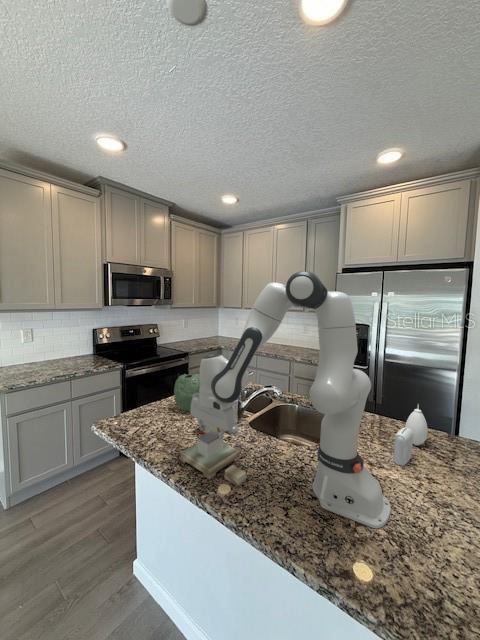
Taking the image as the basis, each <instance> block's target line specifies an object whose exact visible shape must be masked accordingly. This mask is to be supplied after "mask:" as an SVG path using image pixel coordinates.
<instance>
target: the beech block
mask: <svg viewBox="0 0 480 640" xmlns="http://www.w3.org/2000/svg"><path fill="white" fill-rule="evenodd" d="M224 479H225V480H226V481H228V482H230V483H231V484H234V485H235V486H237V487H240V486H241V485H242V484H244V483H245V482H246V481H247V472H246V471H245V470H242V469H240V468H239V467H237V466H236V465H233V464H232V465H231V466H229V467H228V468H226V469H225V470H224Z"/></svg>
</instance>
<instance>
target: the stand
mask: <svg viewBox="0 0 480 640" xmlns="http://www.w3.org/2000/svg"><path fill="white" fill-rule="evenodd" d="M240 459H241V450H239V449H237V448H235V447H233V446H232V445H229V444H227V443H226V442H223V449H222V450H221V451H219V452H217V453H216V454H214V455H212V456H211V457H209V458H206V457H204V456H203V455H201V454H199V453H198V442H197V443H195V444H193V445H191V446H190V447H187V448H186V449H184V450H182V451H180V452H179V461H181V462H182V463H184V464H186V463H187V464H189V465H190V466H192V467H193V468H195V469H197V470H198V471H200V472H202V475H203V477H205V478H206V479H208V480H211V479H213V478H214V477H215V476H217V472H219V471H220V470H221V469H223V468H225V467H226V466H228V465H229V464H231V463H232V462H234V463H236V462H237V461H239V460H240Z"/></svg>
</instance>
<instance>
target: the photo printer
mask: <svg viewBox="0 0 480 640" xmlns="http://www.w3.org/2000/svg"><path fill="white" fill-rule="evenodd" d="M393 446H394V447H393V448H394V449H393V458H392V459H393V461H392V462H394V464H396V465H398V466H400V467H402V466H405V465H407V463H409V461H410V460H411V458H412V453H413V431H412V430H411V429H410V428H407V427H405V426H404V427H402V428H401V429H398V431H397V433H396V434H395V436H394V445H393Z"/></svg>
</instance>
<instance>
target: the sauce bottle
mask: <svg viewBox="0 0 480 640" xmlns="http://www.w3.org/2000/svg"><path fill="white" fill-rule="evenodd" d="M419 405H420V404H419V403H417V408H415V409H413V411H412V412H411V413H410V415H409V416H408V418H407V420H406V422H405V425H404V428H405V427H407V428H410V429H411V430H412V431H413V444H414V445H413V444H412V445H413V446H421V445H423V444H424V443H425V441H426V439H427V438H428V423H427V421H426V418H425V416H424V414H423V412H422V410H421V409H419V407H420V406H419Z"/></svg>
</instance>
